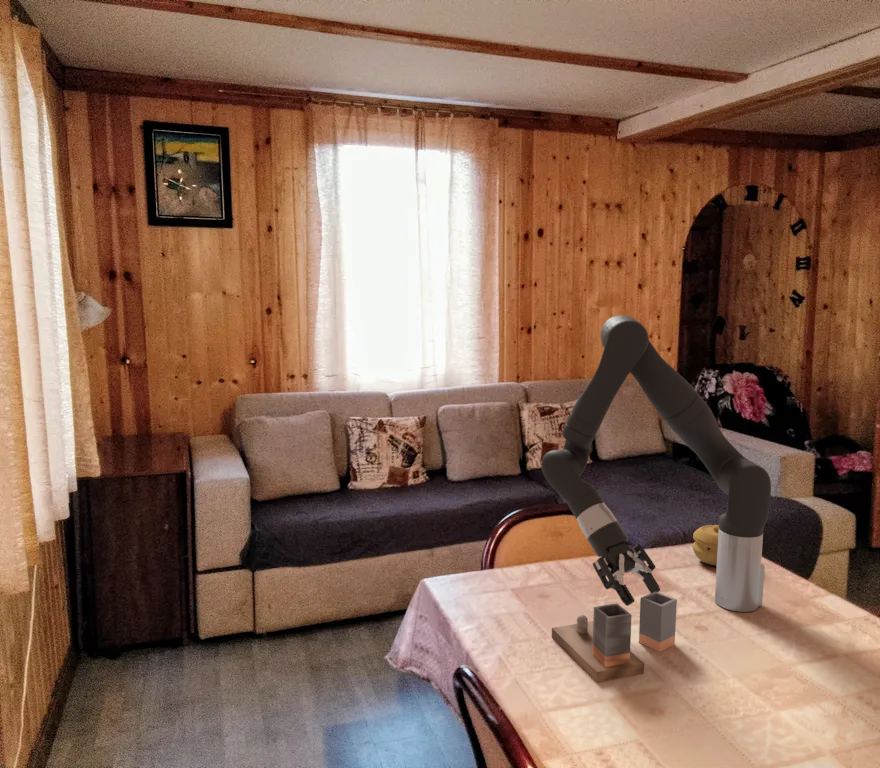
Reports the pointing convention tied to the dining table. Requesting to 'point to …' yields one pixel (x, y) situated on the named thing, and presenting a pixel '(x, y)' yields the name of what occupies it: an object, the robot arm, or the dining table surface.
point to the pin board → (601, 643)
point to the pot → (706, 544)
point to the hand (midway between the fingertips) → (644, 598)
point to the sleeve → (657, 621)
